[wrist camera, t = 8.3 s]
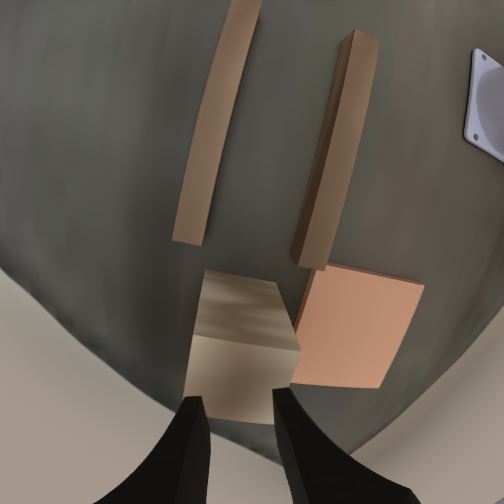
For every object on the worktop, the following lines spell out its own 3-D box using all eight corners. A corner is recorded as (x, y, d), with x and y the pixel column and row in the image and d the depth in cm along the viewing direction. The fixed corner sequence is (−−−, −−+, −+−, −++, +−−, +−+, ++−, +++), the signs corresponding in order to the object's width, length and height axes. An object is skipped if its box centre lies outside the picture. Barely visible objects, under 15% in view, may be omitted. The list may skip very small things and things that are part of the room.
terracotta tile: (417, 280, 21) (424, 285, 21) (374, 381, 24) (378, 388, 23) (314, 258, 20) (318, 263, 19) (277, 373, 23) (279, 381, 22)
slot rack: (363, 50, 17) (380, 39, 14) (313, 258, 20) (324, 271, 18) (232, 12, 16) (233, -5, 13) (178, 229, 19) (171, 240, 17)
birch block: (275, 281, 21) (301, 351, 13) (259, 341, 22) (273, 424, 14) (205, 268, 20) (193, 334, 12) (193, 329, 21) (180, 412, 14)
